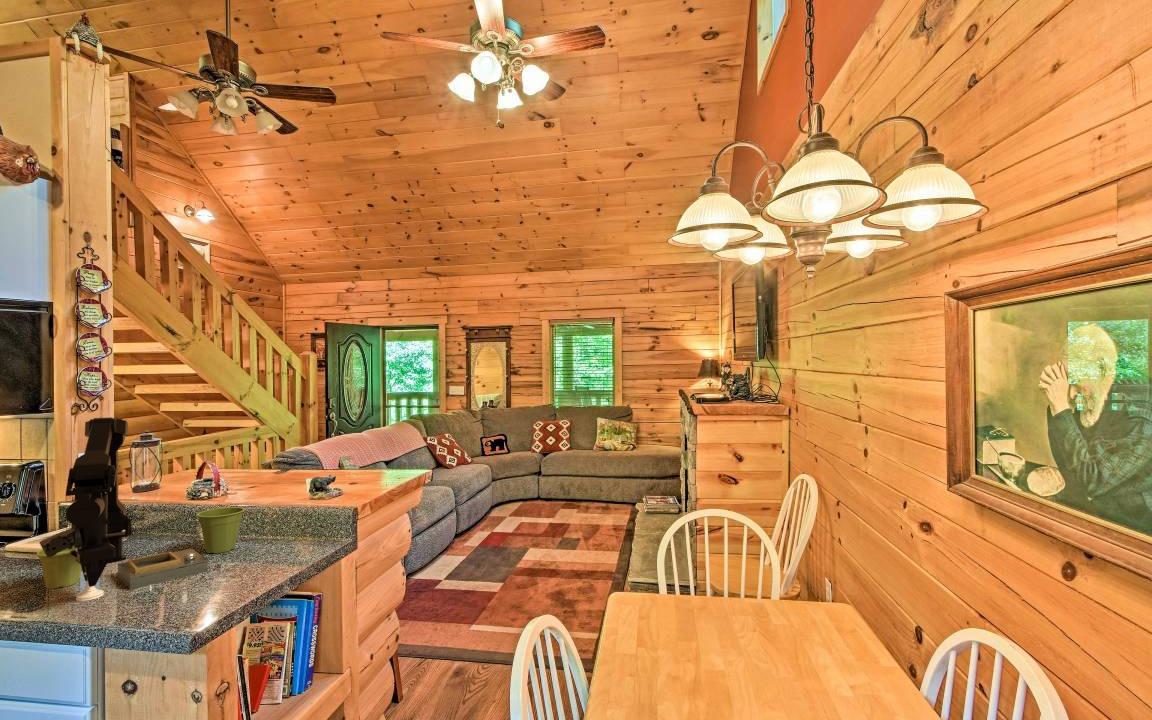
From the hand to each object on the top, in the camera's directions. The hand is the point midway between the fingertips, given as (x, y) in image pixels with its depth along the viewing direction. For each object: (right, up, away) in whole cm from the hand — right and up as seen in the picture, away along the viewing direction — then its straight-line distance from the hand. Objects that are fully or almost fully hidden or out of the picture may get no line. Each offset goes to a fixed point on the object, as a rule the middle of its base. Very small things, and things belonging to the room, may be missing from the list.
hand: (90, 583), depth 128 cm
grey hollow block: (+6, -3, +15) cm, 16 cm away
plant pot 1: (-13, -3, +7) cm, 16 cm away
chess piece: (0, -3, 0) cm, 3 cm away
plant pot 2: (+9, -4, +33) cm, 35 cm away
